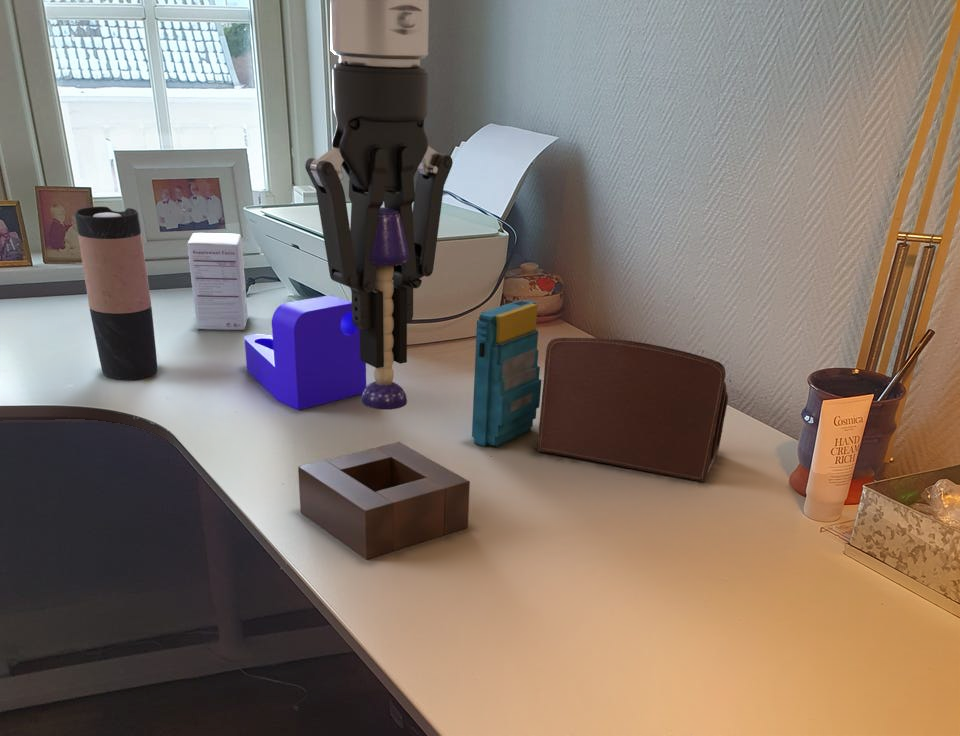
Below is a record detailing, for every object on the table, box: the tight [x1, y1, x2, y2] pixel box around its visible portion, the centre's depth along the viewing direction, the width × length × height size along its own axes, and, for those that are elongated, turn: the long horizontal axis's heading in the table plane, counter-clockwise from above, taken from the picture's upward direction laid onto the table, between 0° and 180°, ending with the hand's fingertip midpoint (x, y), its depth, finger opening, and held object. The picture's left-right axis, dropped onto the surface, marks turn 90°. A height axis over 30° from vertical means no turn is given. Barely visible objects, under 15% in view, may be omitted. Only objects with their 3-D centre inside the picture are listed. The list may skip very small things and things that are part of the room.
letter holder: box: [536, 337, 729, 483], centre depth 112 cm, size 10×20×14 cm, turn 70°
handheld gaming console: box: [471, 299, 542, 448], centre depth 115 cm, size 10×4×15 cm, turn 145°
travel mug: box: [74, 206, 159, 381], centre depth 127 cm, size 8×8×20 cm
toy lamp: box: [360, 206, 410, 411], centre depth 87 cm, size 5×5×17 cm
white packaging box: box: [186, 232, 249, 331], centre depth 150 cm, size 7×7×13 cm
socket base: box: [297, 441, 471, 560], centre depth 97 cm, size 12×12×5 cm
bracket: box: [243, 295, 367, 411], centre depth 128 cm, size 18×11×12 cm, turn 45°
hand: (383, 360), depth 90 cm, fingers closed on toy lamp, 2 cm apart
